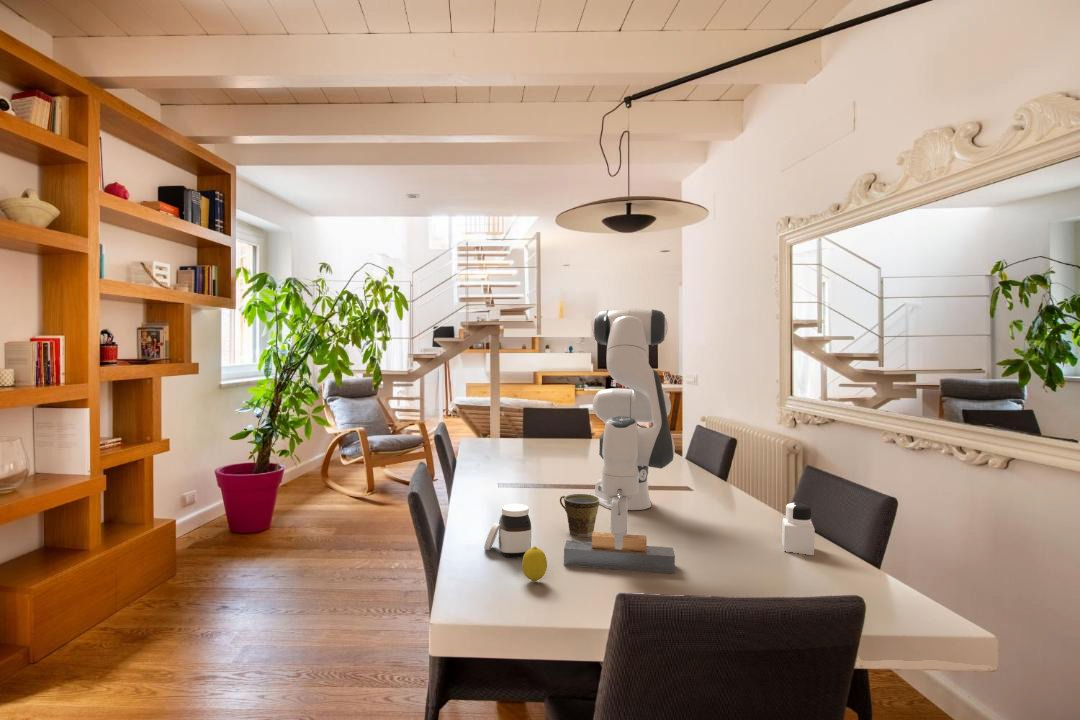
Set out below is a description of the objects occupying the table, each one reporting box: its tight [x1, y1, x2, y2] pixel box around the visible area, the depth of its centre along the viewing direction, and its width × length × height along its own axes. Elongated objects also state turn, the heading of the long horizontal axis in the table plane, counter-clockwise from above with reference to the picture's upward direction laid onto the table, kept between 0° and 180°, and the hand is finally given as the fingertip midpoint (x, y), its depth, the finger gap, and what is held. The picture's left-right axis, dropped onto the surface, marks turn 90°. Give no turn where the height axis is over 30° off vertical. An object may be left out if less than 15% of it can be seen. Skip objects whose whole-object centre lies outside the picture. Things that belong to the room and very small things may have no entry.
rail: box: [563, 540, 676, 574], centre depth 137 cm, size 26×6×4 cm, turn 81°
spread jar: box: [483, 503, 532, 559], centre depth 144 cm, size 12×11×12 cm
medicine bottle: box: [781, 502, 816, 556], centre depth 149 cm, size 7×7×12 cm
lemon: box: [521, 546, 548, 583], centre depth 125 cm, size 6×6×8 cm
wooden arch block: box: [591, 531, 648, 552], centre depth 137 cm, size 13×3×7 cm, turn 81°
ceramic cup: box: [559, 493, 600, 538], centre depth 160 cm, size 13×10×10 cm
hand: (618, 541), depth 137 cm, fingers open, 8 cm apart
